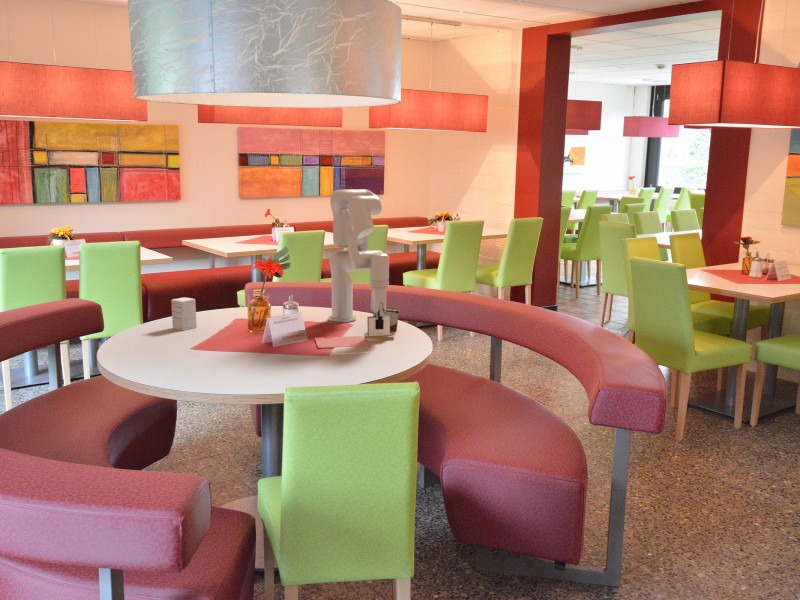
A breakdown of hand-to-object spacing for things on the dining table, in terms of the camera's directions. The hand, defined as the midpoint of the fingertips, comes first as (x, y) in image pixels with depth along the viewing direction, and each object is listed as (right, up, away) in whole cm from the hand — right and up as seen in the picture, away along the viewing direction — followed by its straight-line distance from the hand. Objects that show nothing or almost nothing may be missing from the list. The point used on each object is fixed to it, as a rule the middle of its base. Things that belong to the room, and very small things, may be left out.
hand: (378, 328), depth 313 cm
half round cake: (+3, -2, +17) cm, 17 cm away
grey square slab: (0, -3, +1) cm, 3 cm away
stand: (0, -5, +1) cm, 5 cm away
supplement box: (-84, -1, +17) cm, 86 cm away
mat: (-15, -6, -6) cm, 17 cm away
